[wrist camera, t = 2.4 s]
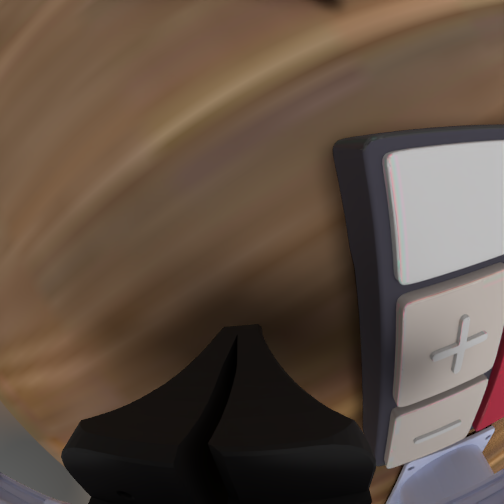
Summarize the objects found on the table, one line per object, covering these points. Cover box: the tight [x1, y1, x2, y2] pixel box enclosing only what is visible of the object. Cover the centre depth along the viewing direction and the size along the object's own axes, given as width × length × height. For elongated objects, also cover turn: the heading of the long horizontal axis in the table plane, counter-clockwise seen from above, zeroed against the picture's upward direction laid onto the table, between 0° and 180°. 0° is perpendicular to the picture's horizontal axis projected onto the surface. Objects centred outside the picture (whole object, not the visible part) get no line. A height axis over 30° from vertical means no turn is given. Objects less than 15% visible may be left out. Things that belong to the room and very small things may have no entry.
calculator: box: [333, 125, 504, 469], centre depth 10 cm, size 11×4×15 cm
